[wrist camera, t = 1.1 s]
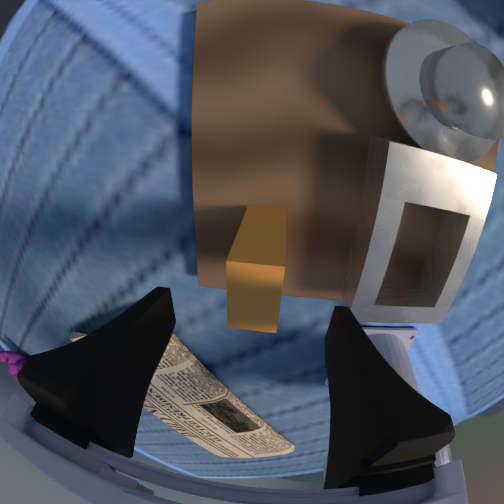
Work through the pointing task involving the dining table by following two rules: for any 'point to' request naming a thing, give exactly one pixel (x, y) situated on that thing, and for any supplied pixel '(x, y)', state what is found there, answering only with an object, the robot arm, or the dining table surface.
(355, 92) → the board
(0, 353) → the purple coral
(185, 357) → the newspaper
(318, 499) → the robot arm
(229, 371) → the dining table surface
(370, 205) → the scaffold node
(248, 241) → the tan rectangular prism
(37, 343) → the dining table surface
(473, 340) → the dining table surface
